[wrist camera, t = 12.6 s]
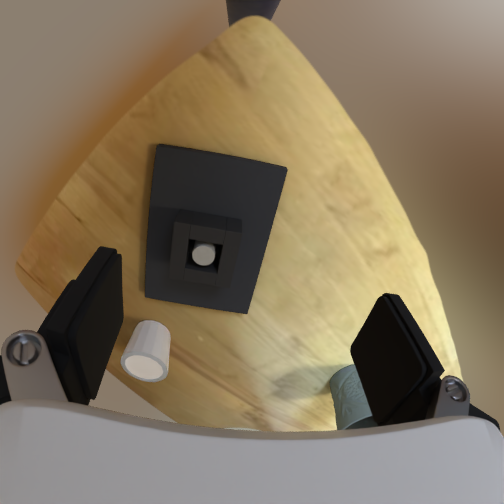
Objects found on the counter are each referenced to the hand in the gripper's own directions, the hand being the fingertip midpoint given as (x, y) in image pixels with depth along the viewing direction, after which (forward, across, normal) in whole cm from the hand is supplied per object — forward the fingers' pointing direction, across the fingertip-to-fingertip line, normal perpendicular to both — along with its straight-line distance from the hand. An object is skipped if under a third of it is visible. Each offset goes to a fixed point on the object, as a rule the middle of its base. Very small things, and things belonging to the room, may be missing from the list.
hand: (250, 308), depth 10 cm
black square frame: (+23, +2, +10) cm, 25 cm away
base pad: (+24, +2, +10) cm, 26 cm away
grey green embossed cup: (+24, -28, +34) cm, 50 cm away
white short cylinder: (+24, +8, +28) cm, 38 cm away
